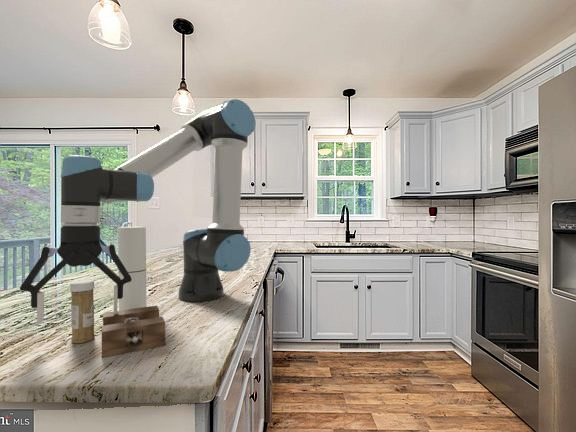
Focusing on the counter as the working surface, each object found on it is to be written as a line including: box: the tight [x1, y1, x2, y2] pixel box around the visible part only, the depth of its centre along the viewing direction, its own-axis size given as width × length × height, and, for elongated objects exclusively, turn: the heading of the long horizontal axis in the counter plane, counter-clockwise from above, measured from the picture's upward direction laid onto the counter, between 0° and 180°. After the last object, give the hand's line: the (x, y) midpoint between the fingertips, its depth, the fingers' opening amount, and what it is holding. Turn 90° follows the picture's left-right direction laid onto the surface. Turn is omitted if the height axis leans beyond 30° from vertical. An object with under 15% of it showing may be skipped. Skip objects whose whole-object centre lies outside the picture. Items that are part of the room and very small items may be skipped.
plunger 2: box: [128, 331, 140, 343], centre depth 68 cm, size 2×6×2 cm, turn 29°
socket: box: [101, 305, 166, 358], centre depth 72 cm, size 12×15×5 cm
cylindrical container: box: [117, 226, 148, 318], centre depth 90 cm, size 7×7×25 cm
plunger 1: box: [126, 317, 138, 322], centre depth 77 cm, size 2×6×2 cm, turn 29°
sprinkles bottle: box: [69, 279, 95, 344], centre depth 72 cm, size 5×5×14 cm
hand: (79, 318), depth 71 cm, fingers open, 13 cm apart
